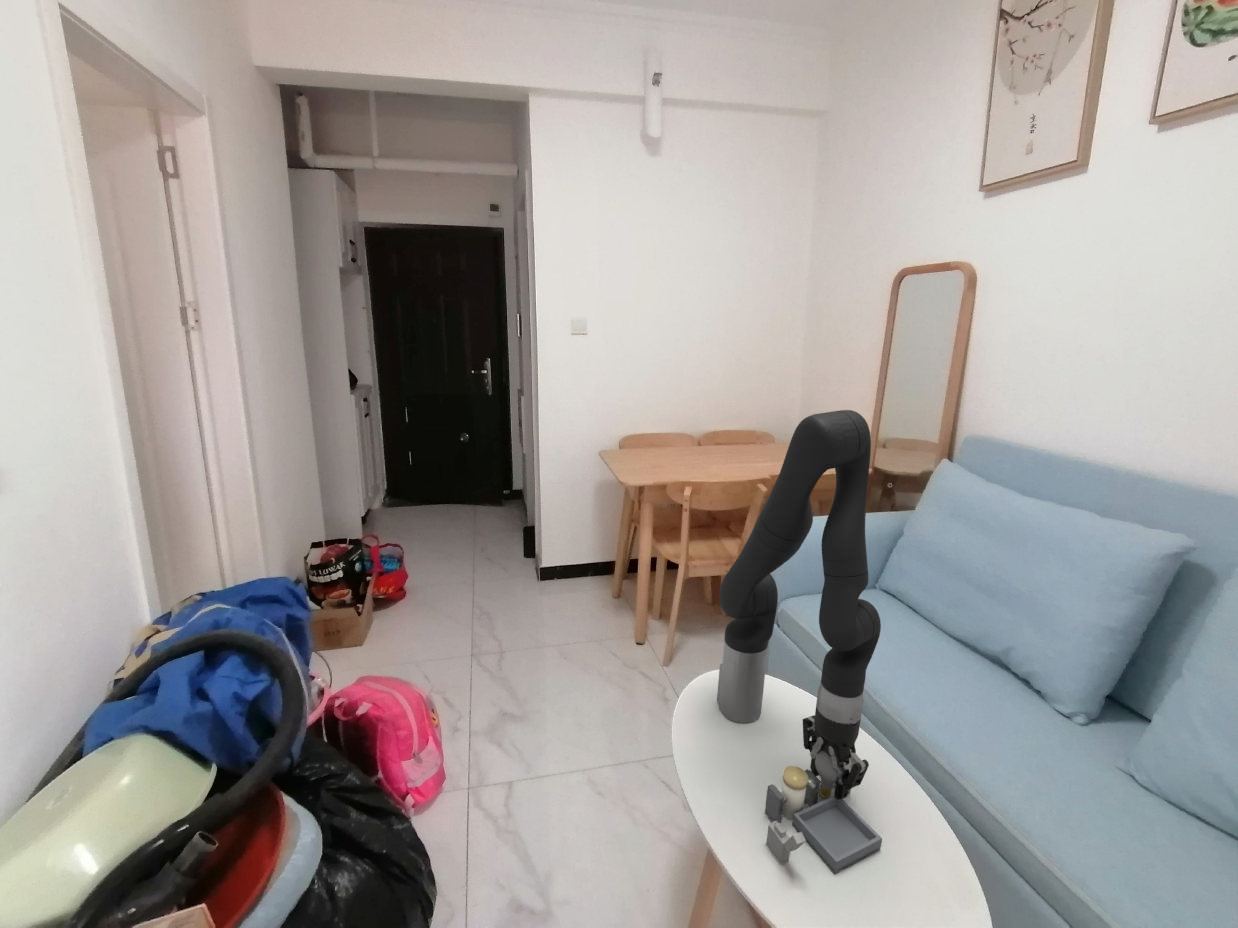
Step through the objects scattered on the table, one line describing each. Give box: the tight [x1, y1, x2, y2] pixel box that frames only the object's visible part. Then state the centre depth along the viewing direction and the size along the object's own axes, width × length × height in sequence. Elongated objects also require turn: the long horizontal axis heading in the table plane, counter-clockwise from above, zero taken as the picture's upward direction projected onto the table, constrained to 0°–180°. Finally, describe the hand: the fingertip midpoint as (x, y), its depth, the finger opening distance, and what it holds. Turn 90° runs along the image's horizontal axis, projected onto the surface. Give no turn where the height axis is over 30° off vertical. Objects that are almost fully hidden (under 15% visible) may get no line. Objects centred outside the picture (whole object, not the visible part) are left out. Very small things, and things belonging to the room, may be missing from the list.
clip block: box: [764, 768, 852, 824], centre depth 109 cm, size 3×17×6 cm, turn 116°
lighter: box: [765, 821, 806, 865], centre depth 98 cm, size 7×2×8 cm, turn 23°
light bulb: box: [815, 750, 845, 798], centre depth 110 cm, size 6×6×10 cm
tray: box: [791, 795, 883, 875], centre depth 103 cm, size 10×10×2 cm
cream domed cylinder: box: [780, 765, 808, 821], centre depth 107 cm, size 4×4×8 cm
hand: (827, 785), depth 111 cm, fingers closed on light bulb, 5 cm apart
